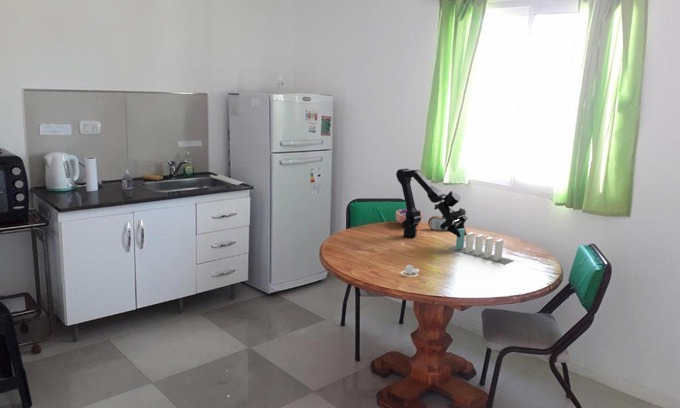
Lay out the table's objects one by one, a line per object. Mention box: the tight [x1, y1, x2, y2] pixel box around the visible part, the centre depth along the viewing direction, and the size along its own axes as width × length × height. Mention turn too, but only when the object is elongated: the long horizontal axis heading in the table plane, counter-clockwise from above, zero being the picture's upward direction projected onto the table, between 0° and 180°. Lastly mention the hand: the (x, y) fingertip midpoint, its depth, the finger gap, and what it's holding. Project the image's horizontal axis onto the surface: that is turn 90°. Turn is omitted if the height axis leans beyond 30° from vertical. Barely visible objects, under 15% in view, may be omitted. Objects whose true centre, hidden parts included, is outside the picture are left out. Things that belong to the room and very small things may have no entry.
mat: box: [447, 245, 515, 266], centre depth 269 cm, size 33×10×1 cm, turn 46°
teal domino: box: [455, 228, 466, 249], centre depth 276 cm, size 2×5×10 cm, turn 136°
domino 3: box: [483, 236, 494, 258], centre depth 265 cm, size 2×5×10 cm, turn 135°
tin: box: [427, 215, 449, 232], centre depth 316 cm, size 15×3×8 cm, turn 84°
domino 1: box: [464, 231, 475, 253], centre depth 272 cm, size 2×5×10 cm, turn 136°
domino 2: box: [474, 234, 485, 255], centre depth 269 cm, size 2×5×10 cm, turn 136°
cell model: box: [395, 208, 424, 225], centre depth 323 cm, size 17×20×11 cm
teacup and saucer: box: [400, 264, 420, 278], centre depth 239 cm, size 9×8×4 cm
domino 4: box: [493, 238, 504, 261], centre depth 261 cm, size 2×5×10 cm, turn 136°
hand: (462, 236), depth 275 cm, fingers closed on teal domino, 5 cm apart
